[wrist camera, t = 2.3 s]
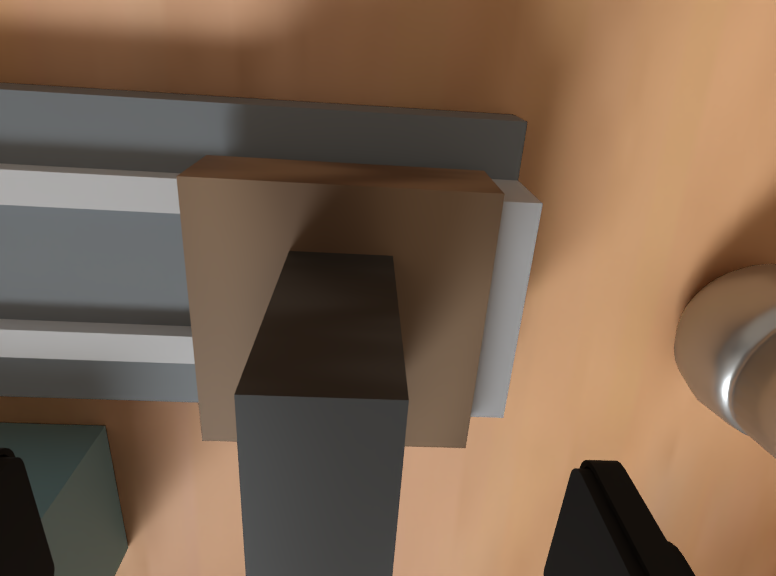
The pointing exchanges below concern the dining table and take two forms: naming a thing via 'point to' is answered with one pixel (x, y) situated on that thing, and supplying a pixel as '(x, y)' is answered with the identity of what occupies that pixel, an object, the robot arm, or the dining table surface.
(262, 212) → the carriage
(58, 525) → the cabinet
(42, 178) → the rail board
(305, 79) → the dining table surface
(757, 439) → the plastic bottle
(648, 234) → the dining table surface
